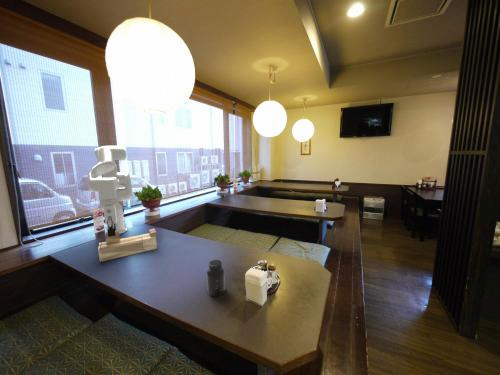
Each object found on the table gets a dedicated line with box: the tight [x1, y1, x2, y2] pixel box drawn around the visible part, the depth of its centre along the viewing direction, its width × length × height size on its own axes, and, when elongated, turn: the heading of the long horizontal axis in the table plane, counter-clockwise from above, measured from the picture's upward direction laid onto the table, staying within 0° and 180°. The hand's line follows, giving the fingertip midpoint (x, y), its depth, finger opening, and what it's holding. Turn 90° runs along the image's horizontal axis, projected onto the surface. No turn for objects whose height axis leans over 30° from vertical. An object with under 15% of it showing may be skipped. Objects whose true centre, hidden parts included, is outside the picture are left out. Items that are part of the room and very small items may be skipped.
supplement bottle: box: [206, 259, 226, 297], centre depth 79 cm, size 7×7×12 cm
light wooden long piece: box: [97, 233, 158, 263], centre depth 114 cm, size 9×27×7 cm, turn 122°
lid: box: [101, 230, 142, 250], centre depth 112 cm, size 9×19×7 cm, turn 122°
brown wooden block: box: [148, 228, 157, 237], centre depth 120 cm, size 7×3×2 cm, turn 32°
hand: (112, 233), depth 109 cm, fingers open, 9 cm apart
